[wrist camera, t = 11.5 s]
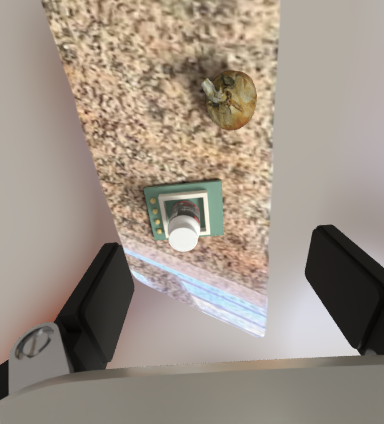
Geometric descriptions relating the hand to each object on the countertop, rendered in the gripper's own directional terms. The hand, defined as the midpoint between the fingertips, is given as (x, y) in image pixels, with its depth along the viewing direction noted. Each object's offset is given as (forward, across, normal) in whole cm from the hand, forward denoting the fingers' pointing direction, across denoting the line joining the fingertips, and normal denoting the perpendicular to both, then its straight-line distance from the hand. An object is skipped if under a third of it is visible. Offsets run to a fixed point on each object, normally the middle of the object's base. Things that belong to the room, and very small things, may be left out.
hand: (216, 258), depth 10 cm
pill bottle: (+29, +4, +12) cm, 32 cm away
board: (+30, +4, +12) cm, 33 cm away
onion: (+30, -5, -7) cm, 32 cm away
